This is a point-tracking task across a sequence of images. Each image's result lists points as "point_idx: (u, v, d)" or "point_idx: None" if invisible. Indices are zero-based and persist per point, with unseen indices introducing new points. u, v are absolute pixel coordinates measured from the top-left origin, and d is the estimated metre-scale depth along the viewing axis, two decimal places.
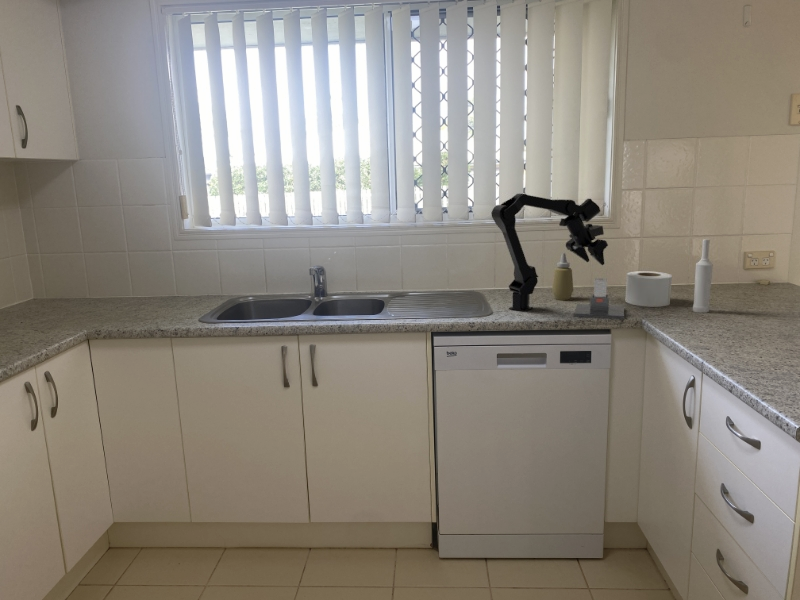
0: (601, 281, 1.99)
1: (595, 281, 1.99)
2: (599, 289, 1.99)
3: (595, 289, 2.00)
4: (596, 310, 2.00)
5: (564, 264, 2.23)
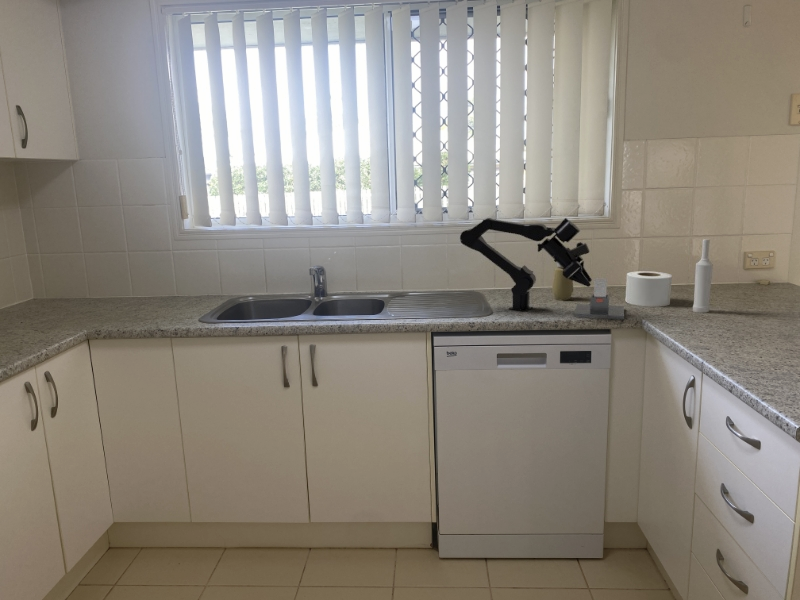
0: (601, 281, 1.99)
1: (595, 281, 1.99)
2: (599, 289, 1.99)
3: (595, 289, 2.00)
4: (596, 310, 2.00)
5: None
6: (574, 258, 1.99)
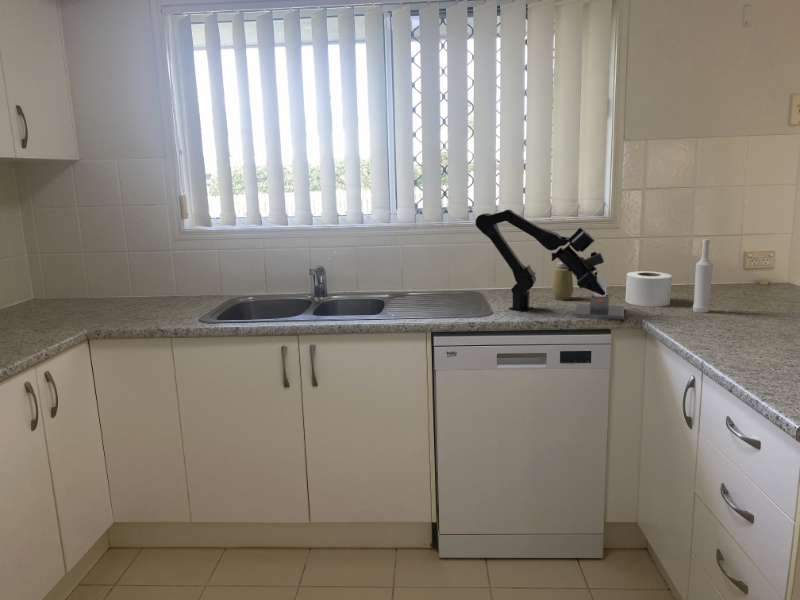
0: (601, 281, 1.99)
1: None
2: None
3: None
4: (596, 310, 2.00)
5: None
6: (588, 268, 1.98)
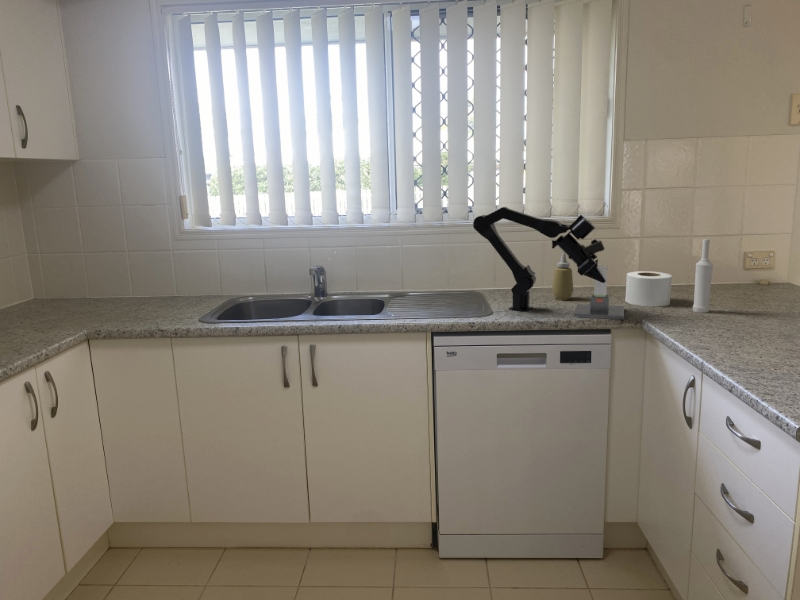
0: (602, 269, 1.98)
1: None
2: None
3: None
4: (596, 310, 2.00)
5: (564, 264, 2.23)
6: (589, 255, 1.97)
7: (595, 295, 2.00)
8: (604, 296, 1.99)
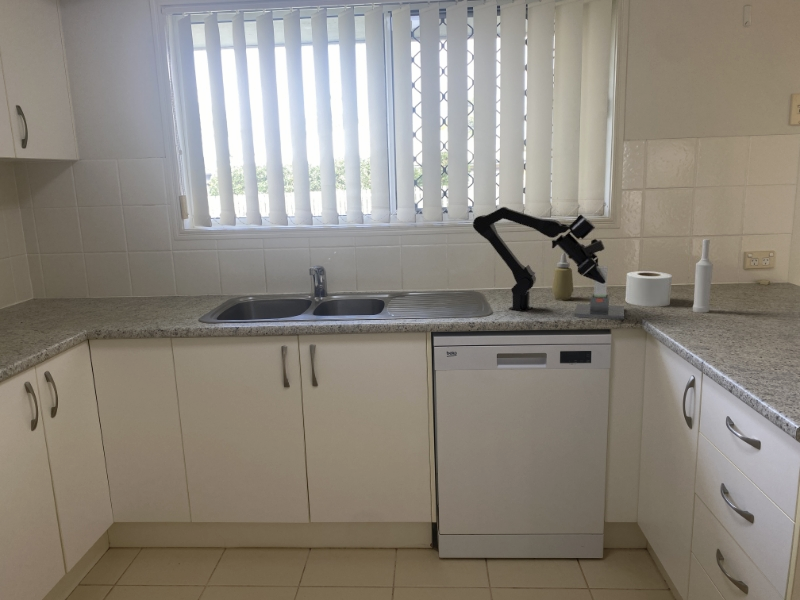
0: (602, 269, 1.98)
1: None
2: None
3: None
4: (596, 310, 2.00)
5: (564, 264, 2.23)
6: (589, 255, 1.97)
7: (595, 295, 2.00)
8: (604, 296, 1.99)
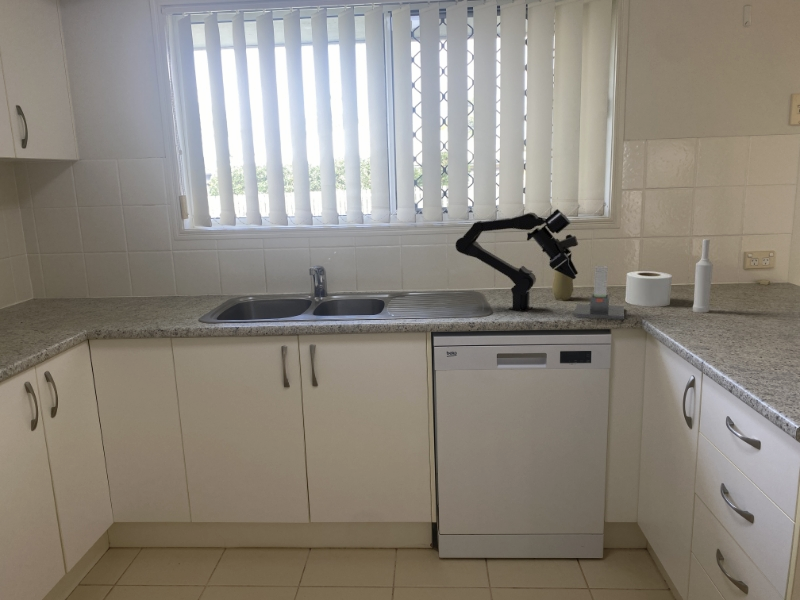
0: (602, 269, 1.98)
1: (595, 269, 1.98)
2: (600, 277, 1.98)
3: (595, 277, 1.99)
4: (596, 310, 2.00)
5: None
6: (562, 250, 2.00)
7: (595, 295, 2.00)
8: (604, 296, 1.99)
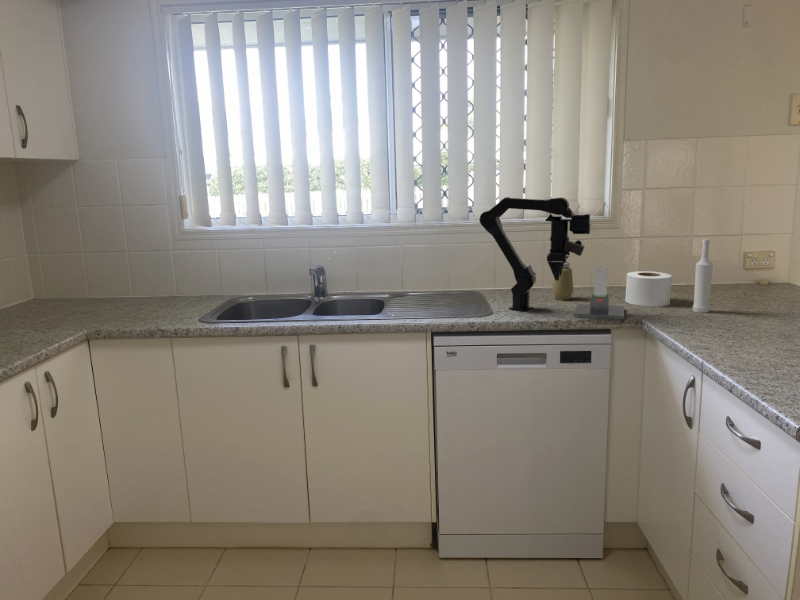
0: (602, 269, 1.98)
1: (595, 269, 1.98)
2: (600, 277, 1.98)
3: (595, 277, 1.99)
4: (596, 310, 2.00)
5: (564, 264, 2.23)
6: (566, 250, 2.00)
7: (595, 295, 2.00)
8: (604, 296, 1.99)
